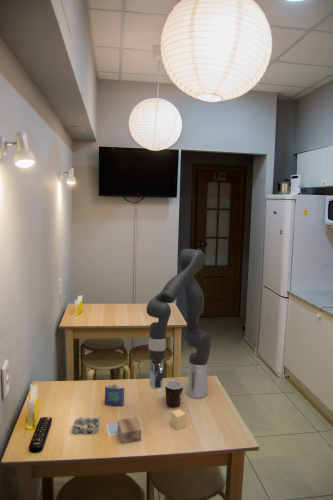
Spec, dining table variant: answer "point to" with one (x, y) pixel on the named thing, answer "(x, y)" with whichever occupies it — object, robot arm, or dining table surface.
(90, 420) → the egg carton
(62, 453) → the dining table surface
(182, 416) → the ochre block
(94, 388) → the dining table surface
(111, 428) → the tile
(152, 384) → the blue block
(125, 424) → the base block
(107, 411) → the dining table surface
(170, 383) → the coffee mug
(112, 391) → the flask
